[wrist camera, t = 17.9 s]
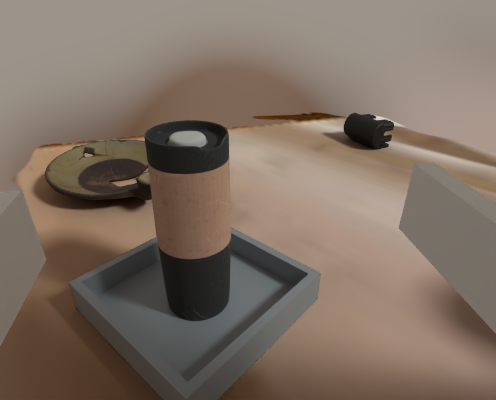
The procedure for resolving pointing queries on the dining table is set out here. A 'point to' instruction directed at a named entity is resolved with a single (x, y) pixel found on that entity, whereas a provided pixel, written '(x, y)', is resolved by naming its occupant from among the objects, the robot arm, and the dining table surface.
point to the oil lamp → (101, 171)
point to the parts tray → (195, 332)
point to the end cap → (368, 130)
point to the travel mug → (192, 214)
